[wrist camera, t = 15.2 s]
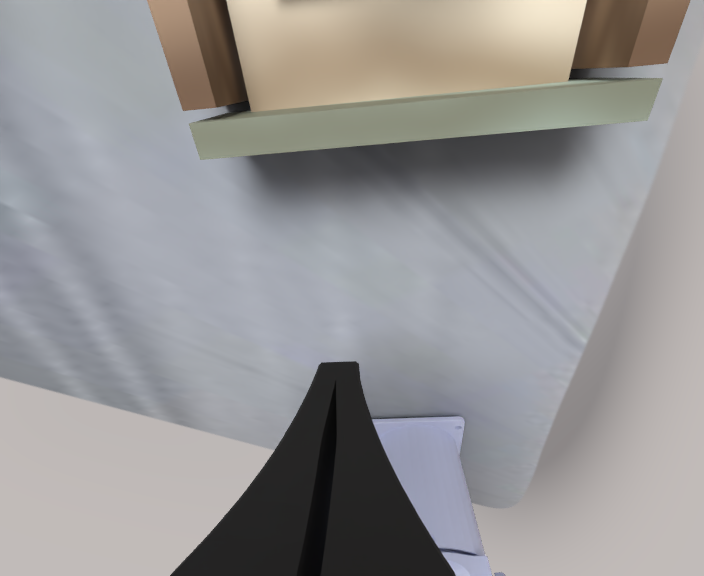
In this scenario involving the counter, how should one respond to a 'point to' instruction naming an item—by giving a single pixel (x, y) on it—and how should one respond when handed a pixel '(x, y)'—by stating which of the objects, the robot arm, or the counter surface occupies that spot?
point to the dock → (229, 86)
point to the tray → (409, 74)
